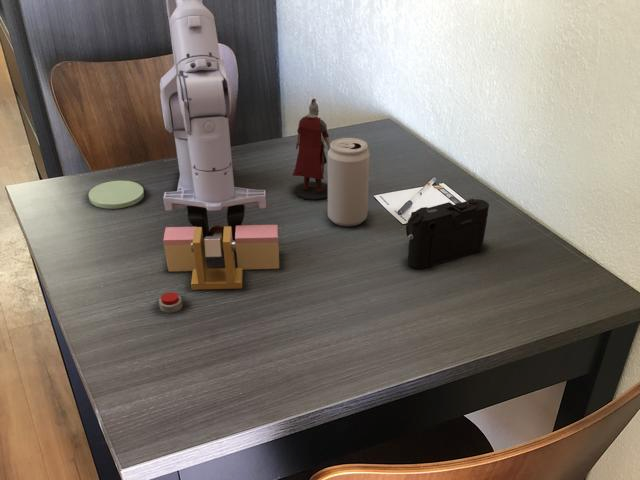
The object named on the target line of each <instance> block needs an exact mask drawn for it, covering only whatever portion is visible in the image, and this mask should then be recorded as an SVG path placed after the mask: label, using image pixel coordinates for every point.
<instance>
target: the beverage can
mask: <svg viewBox="0 0 640 480" xmlns="http://www.w3.org/2000/svg"><path fill="white" fill-rule="evenodd" d="M329 144H330V149H329V151H328V150H327V185H328V198H327V217H328V219H329V220H330V221H332V222H333V223H334V224H336V225H338V226H342V227H355V226H358V225H360V224H362V223H363V222H364V221H365V220H366V219H367V217H368V211H369V187H370V186H369V184H370V183H369V182H370V159H371V158H370V157H371V156H370V155H371V153H370V150H369V149H368V146H369V145H368V143H367V141H365V140H363V139H361V138H356V137H341V138H337V139H334V140H332V141H331V142H329Z"/></svg>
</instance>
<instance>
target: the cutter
mask: <svg viewBox="0 0 640 480" xmlns="http://www.w3.org/2000/svg"><path fill="white" fill-rule="evenodd" d="M224 226H225V225H223V224H214V225H213V226H211V227H210V228H209V236H206V237H205V238H204V247H205V257H206V258H221V257H222V256H223V255H224V249H223V233H224Z"/></svg>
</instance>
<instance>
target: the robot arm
mask: <svg viewBox="0 0 640 480" xmlns="http://www.w3.org/2000/svg"><path fill="white" fill-rule="evenodd" d="M165 4H166V13H167V19H168V26H169V34H170V41H171V49H172V56H173V57H172V58H173V66H172V67H171V68H170V69H169V70H168V71H167V72H166V73H164V75H163V76H161V78H160V81H159V90H160V91H159V92H160V93H159V95H160V96H159V97H160V104H161V110H162V117H163V122H164V123H163V124H164V128H165V130H166V131H167V132H168V133H169V134H170V133H172V134H173V136H174V142H175V143H174V144H175V150H176V156H177V157H176V158H177V164H178V170H179V179H178V183H177V188H176V191H164V194H163V197H162V198H163V199H162V200H163V204H164V210H165V211H166V212H167V211H173V210H174V209H186V211H187V215H186V217H187V221H188V222H189V224H190V225H191V227H202V232H203V240H204V238H205V237H206V236H209V231H210V227H209V219H208V218H209V217H208V211H221V210H222V208H227V210H226V220H227V221H226V222H227V226H231V229H232V239H233V241H235V232H236V226H241V225H242V224H243V222H244V219H245V214H246V213H245V212H246V211H245V210H246V208H251V207H253V208H255V207H257V208H259V209H267V194H266V193H267V192H266V189H253V188H245V187H237V186H235V180H234V179H235V178H234V169H233V159H232V148H231V136H230V124H229V117H230V116H231V113H232V97H231V95H232V94H231V88H230V83H229V82H230V81H229V79H228V75H227V72H226V69H225V64H224V59H221V53H220V48H219V40H218V33H217V27H216V22H215V16H214V14H213V13H212V11H210V10H209V9H208V7H206V6H205V5H204V3H203V0H165ZM204 248H205V247H204Z"/></svg>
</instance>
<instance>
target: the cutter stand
mask: <svg viewBox="0 0 640 480" xmlns="http://www.w3.org/2000/svg"><path fill="white" fill-rule="evenodd" d="M223 226H224V233H223V245H222V247H223V257H224V259H223V260H224V268H222V267H220V268H218V267H217V268H208V264H207V257H205V248H204V240H203V232H202V227H195V228H194V236H193V242H191V251H192V252H194V258H195V265H196V269H193V271H192V274H191V282H190V286H191V290H195V291H198V290H231V289H232V290H234V289H235V290H236V289H243V276H244V275H243V272H244V271H243V270H242V268H238V267H236V261H235V252H236V242H235V241H233V239H232V229H231V226H228V225H223Z"/></svg>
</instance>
